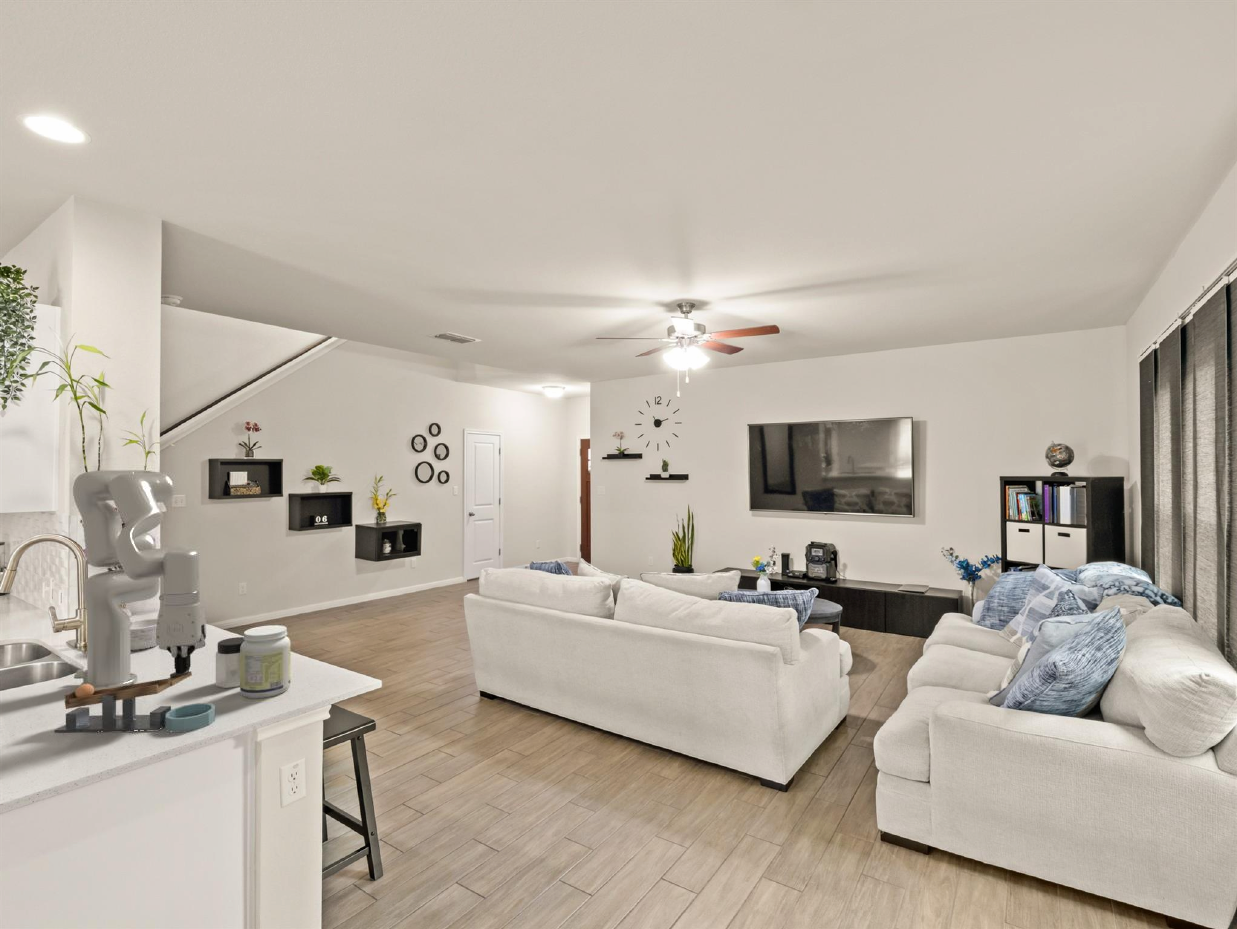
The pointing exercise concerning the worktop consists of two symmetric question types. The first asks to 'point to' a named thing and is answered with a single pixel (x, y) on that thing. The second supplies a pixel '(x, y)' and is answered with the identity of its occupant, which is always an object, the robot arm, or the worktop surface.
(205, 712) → the dish
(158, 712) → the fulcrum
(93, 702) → the lever
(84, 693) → the ball
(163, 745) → the worktop surface
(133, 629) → the paper bowls
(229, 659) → the jar
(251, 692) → the supplement tub
